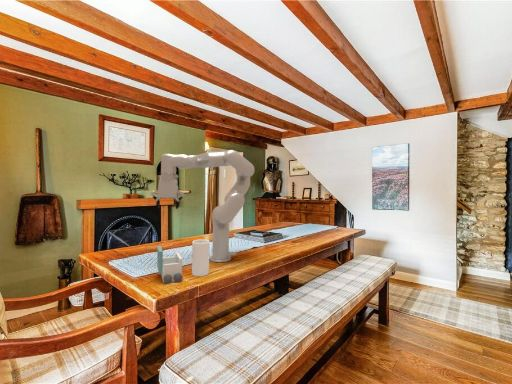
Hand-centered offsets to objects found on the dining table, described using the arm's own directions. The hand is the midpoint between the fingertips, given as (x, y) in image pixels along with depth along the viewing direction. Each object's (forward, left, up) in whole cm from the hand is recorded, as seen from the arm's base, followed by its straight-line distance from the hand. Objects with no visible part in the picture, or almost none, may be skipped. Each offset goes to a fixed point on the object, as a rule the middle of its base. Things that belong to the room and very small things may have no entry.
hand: (167, 208), depth 138 cm
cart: (0, +21, -31) cm, 37 cm away
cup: (-14, +21, -31) cm, 40 cm away
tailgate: (+5, +21, -27) cm, 34 cm away
